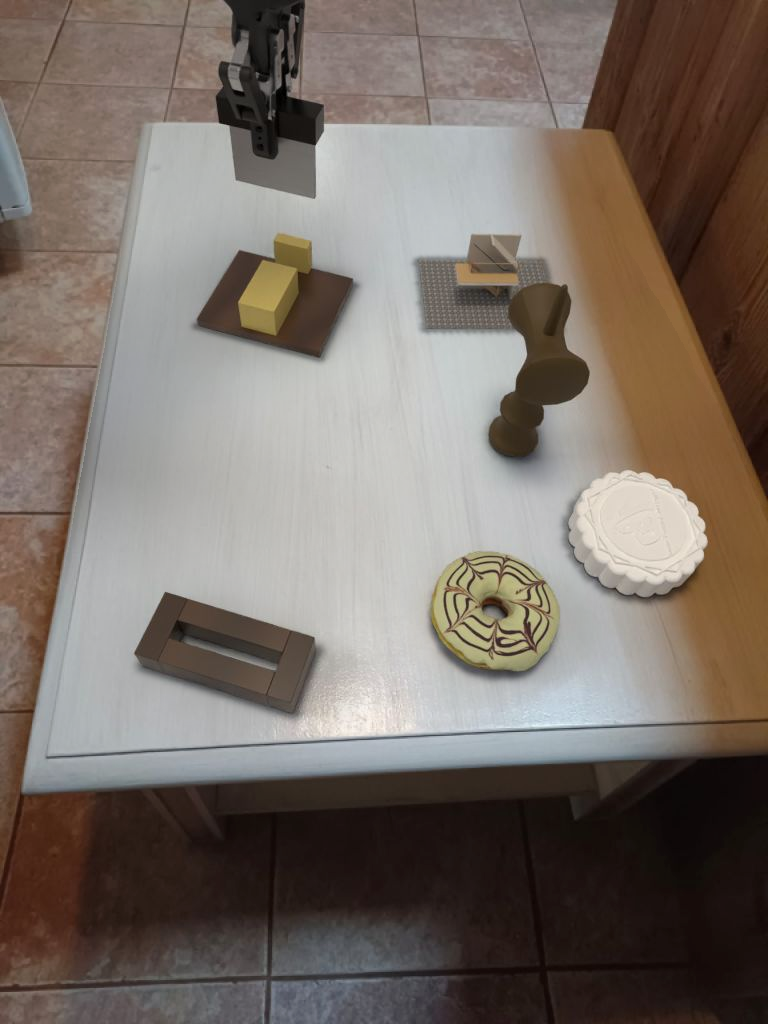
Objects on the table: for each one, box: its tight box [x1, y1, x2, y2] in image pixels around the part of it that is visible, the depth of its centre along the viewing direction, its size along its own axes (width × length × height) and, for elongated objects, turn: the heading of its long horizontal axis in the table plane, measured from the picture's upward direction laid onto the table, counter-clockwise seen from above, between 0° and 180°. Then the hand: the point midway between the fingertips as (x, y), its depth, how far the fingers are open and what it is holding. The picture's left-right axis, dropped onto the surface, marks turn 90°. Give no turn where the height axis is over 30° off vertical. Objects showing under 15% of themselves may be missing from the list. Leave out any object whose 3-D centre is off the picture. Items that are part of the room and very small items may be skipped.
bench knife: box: [215, 86, 325, 200], centre depth 66 cm, size 9×2×8 cm, turn 74°
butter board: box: [196, 249, 354, 358], centre depth 81 cm, size 14×12×1 cm
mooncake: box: [568, 469, 709, 598], centre depth 66 cm, size 12×12×4 cm
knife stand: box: [133, 591, 317, 714], centre depth 59 cm, size 13×6×3 cm, turn 74°
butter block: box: [238, 260, 299, 336], centre depth 78 cm, size 4×7×4 cm, turn 164°
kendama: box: [488, 282, 591, 458], centre depth 65 cm, size 6×10×20 cm, turn 1°
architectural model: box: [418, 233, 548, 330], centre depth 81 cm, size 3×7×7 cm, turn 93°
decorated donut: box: [430, 550, 561, 672], centre depth 61 cm, size 10×11×4 cm
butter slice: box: [272, 232, 313, 274], centre depth 82 cm, size 4×2×4 cm, turn 74°
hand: (271, 145), depth 66 cm, fingers closed on bench knife, 2 cm apart
